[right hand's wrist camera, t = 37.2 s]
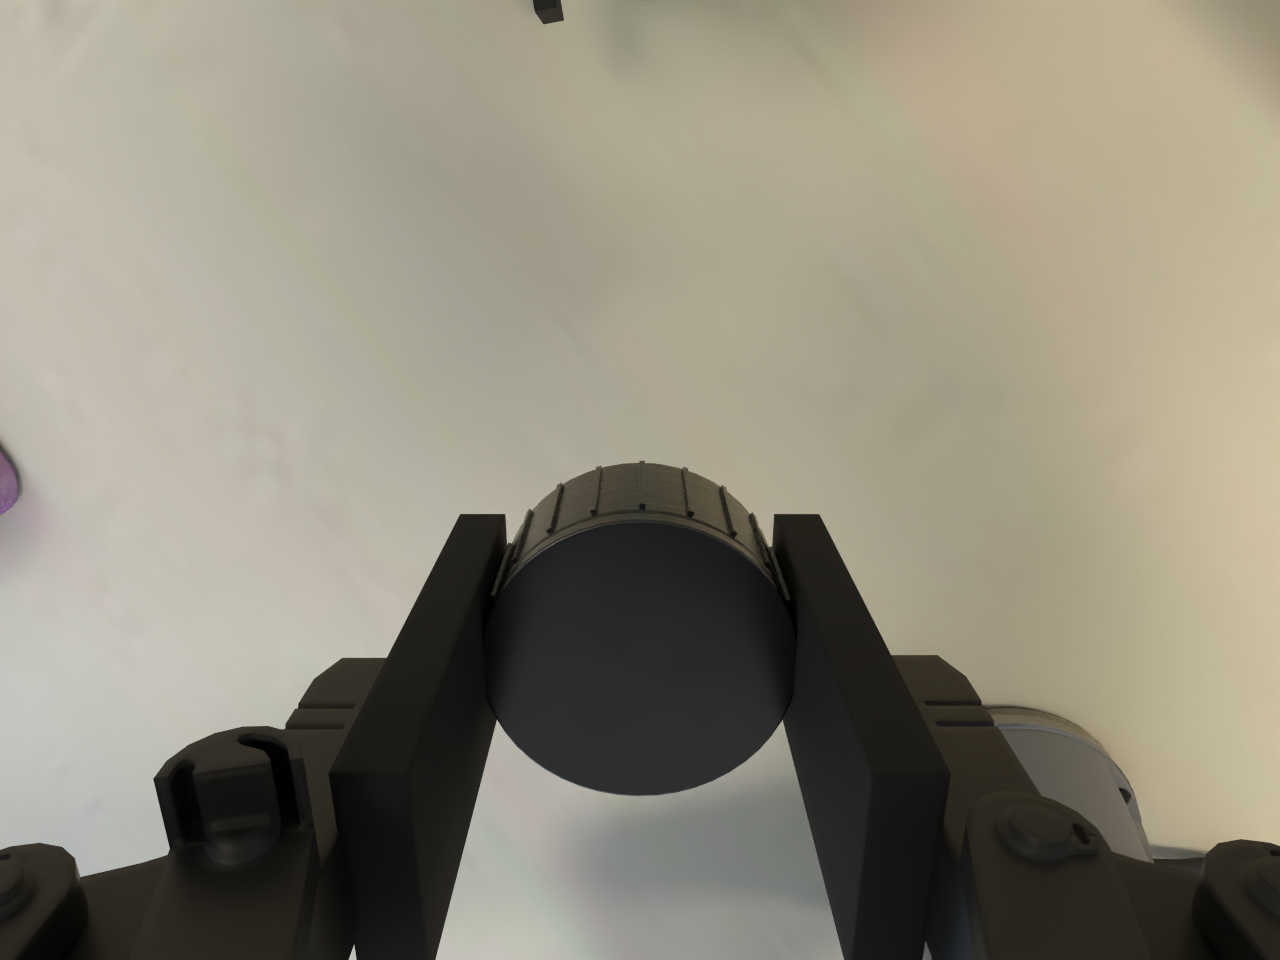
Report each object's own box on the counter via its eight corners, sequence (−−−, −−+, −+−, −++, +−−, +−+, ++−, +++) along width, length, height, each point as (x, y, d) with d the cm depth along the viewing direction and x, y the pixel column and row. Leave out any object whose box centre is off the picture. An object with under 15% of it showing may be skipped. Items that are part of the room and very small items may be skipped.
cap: (832, 545, 14) (870, 618, 12) (683, 745, 16) (691, 845, 14) (589, 405, 14) (579, 454, 11) (455, 630, 15) (421, 715, 13)
